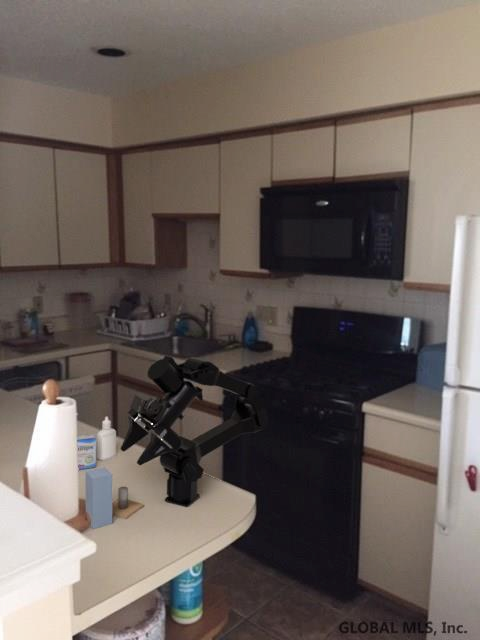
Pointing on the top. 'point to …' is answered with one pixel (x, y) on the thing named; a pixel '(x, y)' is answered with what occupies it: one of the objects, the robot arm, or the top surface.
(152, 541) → the top surface
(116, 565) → the top surface
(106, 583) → the top surface
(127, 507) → the pen stand
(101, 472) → the tall blue pillar
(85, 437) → the medicine box
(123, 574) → the top surface
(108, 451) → the eye dropper bottle
